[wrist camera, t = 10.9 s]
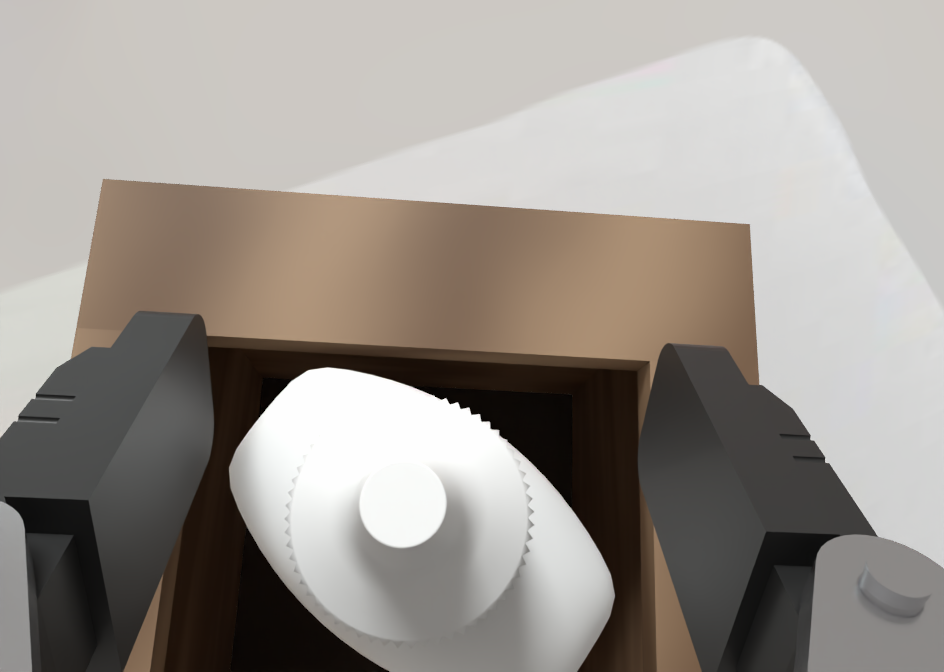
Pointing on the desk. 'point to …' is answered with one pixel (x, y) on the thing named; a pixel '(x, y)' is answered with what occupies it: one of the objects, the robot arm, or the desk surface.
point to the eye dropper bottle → (418, 530)
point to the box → (420, 354)
